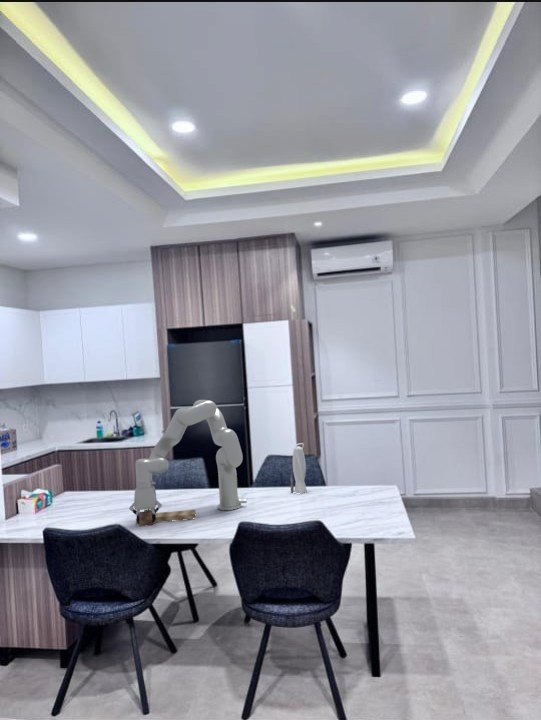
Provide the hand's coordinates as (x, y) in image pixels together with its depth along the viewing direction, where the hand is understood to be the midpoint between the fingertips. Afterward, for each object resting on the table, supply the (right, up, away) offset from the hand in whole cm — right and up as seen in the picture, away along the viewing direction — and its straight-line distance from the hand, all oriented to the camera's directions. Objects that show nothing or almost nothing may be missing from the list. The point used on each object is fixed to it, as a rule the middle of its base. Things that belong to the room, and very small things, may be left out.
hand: (146, 522), depth 232 cm
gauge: (0, -1, +3) cm, 4 cm away
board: (+8, -1, +7) cm, 11 cm away
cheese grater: (+77, +1, +46) cm, 89 cm away
